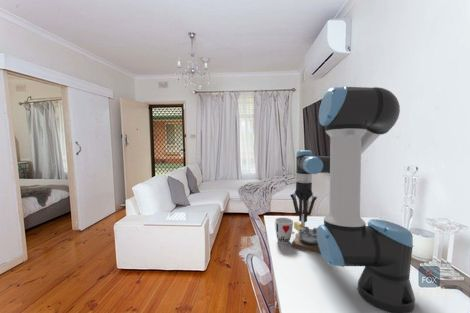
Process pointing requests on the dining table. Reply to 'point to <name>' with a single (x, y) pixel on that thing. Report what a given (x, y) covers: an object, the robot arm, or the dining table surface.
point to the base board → (304, 245)
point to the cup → (283, 229)
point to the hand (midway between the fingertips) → (302, 227)
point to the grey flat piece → (306, 234)
